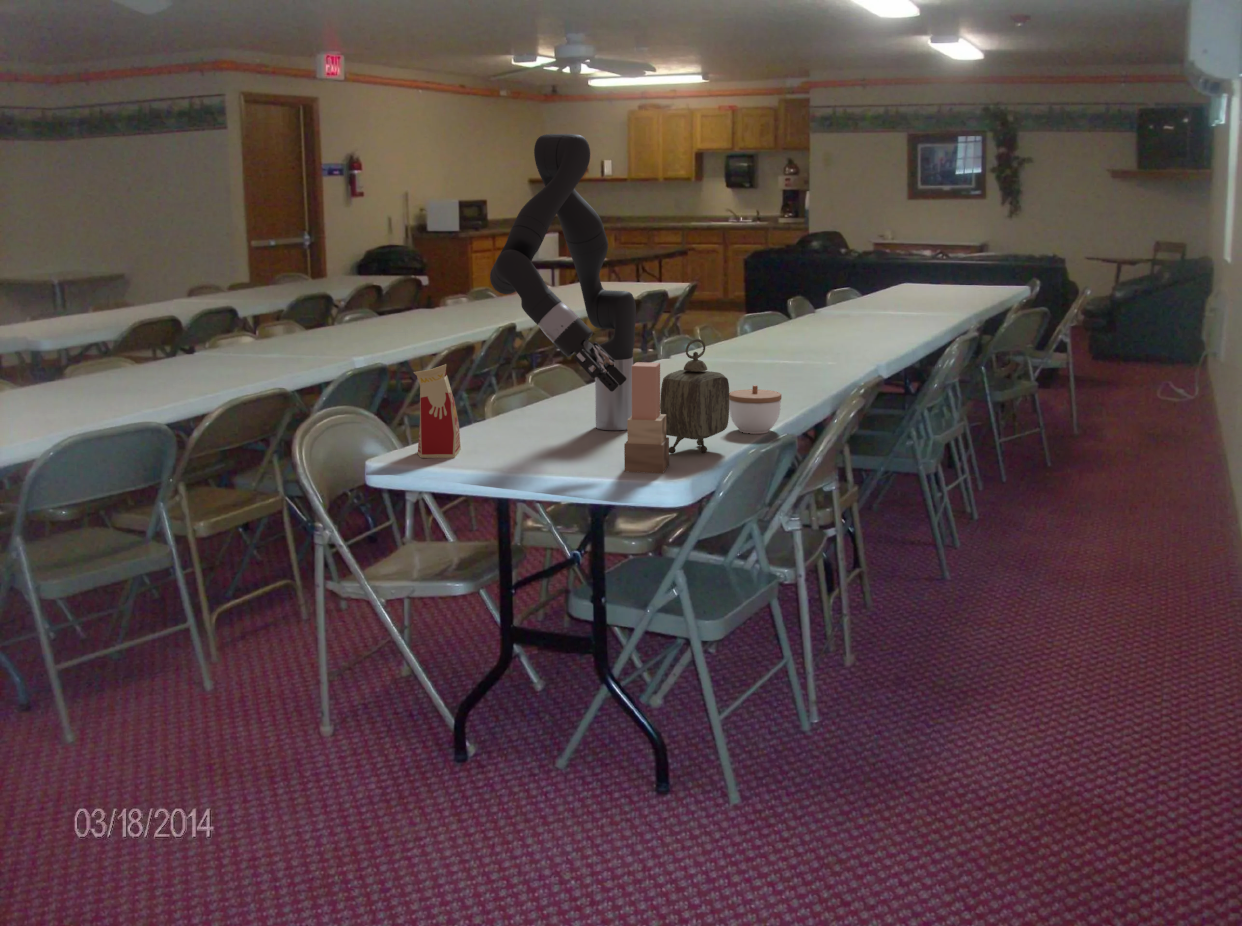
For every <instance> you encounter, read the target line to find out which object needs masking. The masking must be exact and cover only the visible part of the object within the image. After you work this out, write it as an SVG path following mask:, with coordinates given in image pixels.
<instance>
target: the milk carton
mask: <svg viewBox="0 0 1242 926" xmlns="http://www.w3.org/2000/svg"><path fill="white" fill-rule="evenodd" d="M447 366H448V365H447V363H445V364H443V365H440V366H437V367H434V368H431V369H426V370H425V369H424V370H419V371H413V374H414V375H415V376H416V377H417V381H418V384H419V428H418V429H419V431H418V444H417V455H418V456H419V457H420V458H421V459H432V458H433V459H440V458H441V459H455V458H456V457H457V456H458V455H459V453H460V451H461V450H462V447H461V434H460V423H459V419H458V418H459V417H458V413H457V408H456V402H455V398H454V395H453V392H452V388H451V385H450V380H449V377H448V375H447Z"/></svg>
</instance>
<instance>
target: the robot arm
mask: <svg viewBox="0 0 1242 926" xmlns="http://www.w3.org/2000/svg"><path fill="white" fill-rule="evenodd" d="M533 151H534V152H533V153H534V155H533V156H534V162H535V165H536V168H537V172H538V174H539V176H540V178H541V180H542V183H543V185H544V187H543V188H542V189H541V190H540V191H539V192H537V194H535V195H534V196H533V197H532V198H530V199H529V201H527V202H526V203H525V205H524V206H523V207H522V208H521V209H520V211H519V213H518V214H517V215H516V218H515V220H514V222H513V224H512V227H511V229H510V231H509V234H508V237H507V238H506V242H505V244H504V246H503V248H502V249H501V251H500V253H499V255H498V256H497V258H496V260H495V262H494V264H493V266H492V267H491V270H490V272H489V273H490V274H489V280H490V284H491V286H492V287H493V289H494V290H495V291H496V292H497V293H500V294H503V295H511V294H513V293H517V295H518V296H519V298H520V301H521V308H522V310H523V311H524V312H525V315H527V316H528V317H529V318H530V319H531V320H532V321H533V322H534V323H535V324H536V325H537V326H538V327H539V329H540V330H541V331H542V332H543V334H544V335H545V336H546V337H547V339H549V341H551V342H552V344H553V345H555V347H556V348H557V349H558V350H559V351H560V352H561V353H562V354H563V355H564V356H565V357H567V358H570V357H571V356H573V355H575V354H576V355H575V356H574V357H573V358H574V359H573V360H574V361H576V362H577V363H578V364H579V365H580V366H581V367H582V369H583V370H584V371H585V372H587V374H588V375H589V376H590V377H591V379H594V380H595V383H594V385H595V387H594V388H595V392H594V394H595V395H594V396H595V428H597V429H598V430H603V431H625V430H627V420H628V419H629V418H630V417H631V416H632V365H634V349H635V342H636V341H635V340H636V339H635V338H636V316H637V315H636V314H637V307H636V300H635V297H634V295H633V294H632V293H631V292H630V291H628V290H611V289H610V290H606V289H604V287H603V286H602V283H601V282H602V281H601V277H600V273H601V270H602V267H603V264H604V261H605V260H606V257H607V253H608V250H609V240H608V236H607V233H606V231H605V228H604V224H603V221H602V219H601V217H600V215H599V214H598V212H596V210H595V209H594V208H593V207H592V206H591V205H590V204H589V203H588V202H587V200H586V199H585V198H584V197H582V195H580V193H579V192H578V191H577V190H576V187H577V185H578V184H579V183H580V181H581V179H582V178H583V176H585V173H586V172H587V171H588V170H587V169H588V167H589V165H590V162H591V161H590V160H591V148H590V144H589V141H588V140H587V139H586V138H585V137H584V136H583V135H580V134H575V133H549V134H542V135H540V136H538V138H537V139H536V141H535V143H534V147H533ZM556 215H557V218H558V221H559V224H560V227H561V230H562V233H563V237H564V240H565V242H566V246H567V248H568V251H569V254H570V256H571V259H572V261H573V265H574V268H575V271H576V274H577V278H578V281H579V285H580V290H581V293H582V298H583V303H584V307H585V311H586V315H587V318H588V320H589V322H590V324H591V325H592V326H593V328H596V329H604V330H614V332H613V337H611V339H610V340H608V341H605V342H602V343H598V342H596V341H594V342H593V343H591V342H590V341H589V339H591V337H593V334H594V331H593V330H592V329H591V328H590V327H589V326H588V325H587V324H586V323H585V322H584V321H583V319H581V317H579V316H578V315H577V314H576V313H575V312H574V310H573V309H571V308H570V307H569V306H568V305H567V304H565V303H564V302H563V301H562V299H560V298H559V297H558V296H557V295H556V294H555V292H553V291H552V290H551V289H550V288H549V286H547V284H546V282H545V281H544V279H543V276H541V274H540V272H539V271H538V269H537V268H536V267H535V265H534V263H533V262H532V261H533V259H534V258H535V255H536V254H537V253H538V251H539V250H540V248H541V246H542V244H543V242H544V239H545V237H546V235H547V233H548V231H549V228H550V227H551V224H553V221H554V219H555V217H556Z"/></svg>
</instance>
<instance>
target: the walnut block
mask: <svg viewBox="0 0 1242 926" xmlns="http://www.w3.org/2000/svg"><path fill="white" fill-rule="evenodd" d="M669 447H670V437H669V436H668V437H667V436H666V439H665V440H664V442H663V443H662V444H661V445H654V444H628V440H627V441H625V443H624V450H623V452H624V453H623V454H624V472H625V471H629V472H628V473H643V472H645V474H646V473H647V474H649V473H650V474H664V473H665V471H666V470H667V468H668V467H667V466H670V453H669Z"/></svg>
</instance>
